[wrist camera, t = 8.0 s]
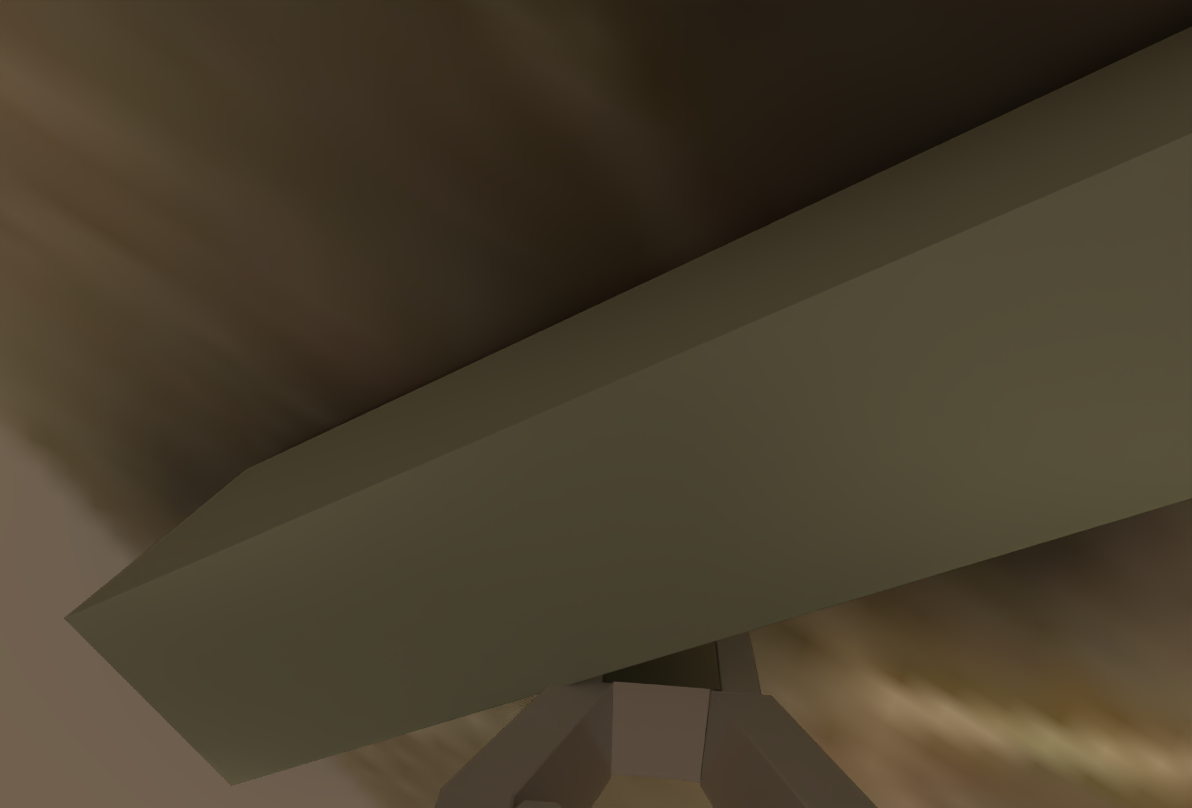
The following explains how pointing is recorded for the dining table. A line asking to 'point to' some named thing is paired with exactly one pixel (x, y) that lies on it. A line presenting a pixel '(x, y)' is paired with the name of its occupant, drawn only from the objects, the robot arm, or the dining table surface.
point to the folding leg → (708, 446)
